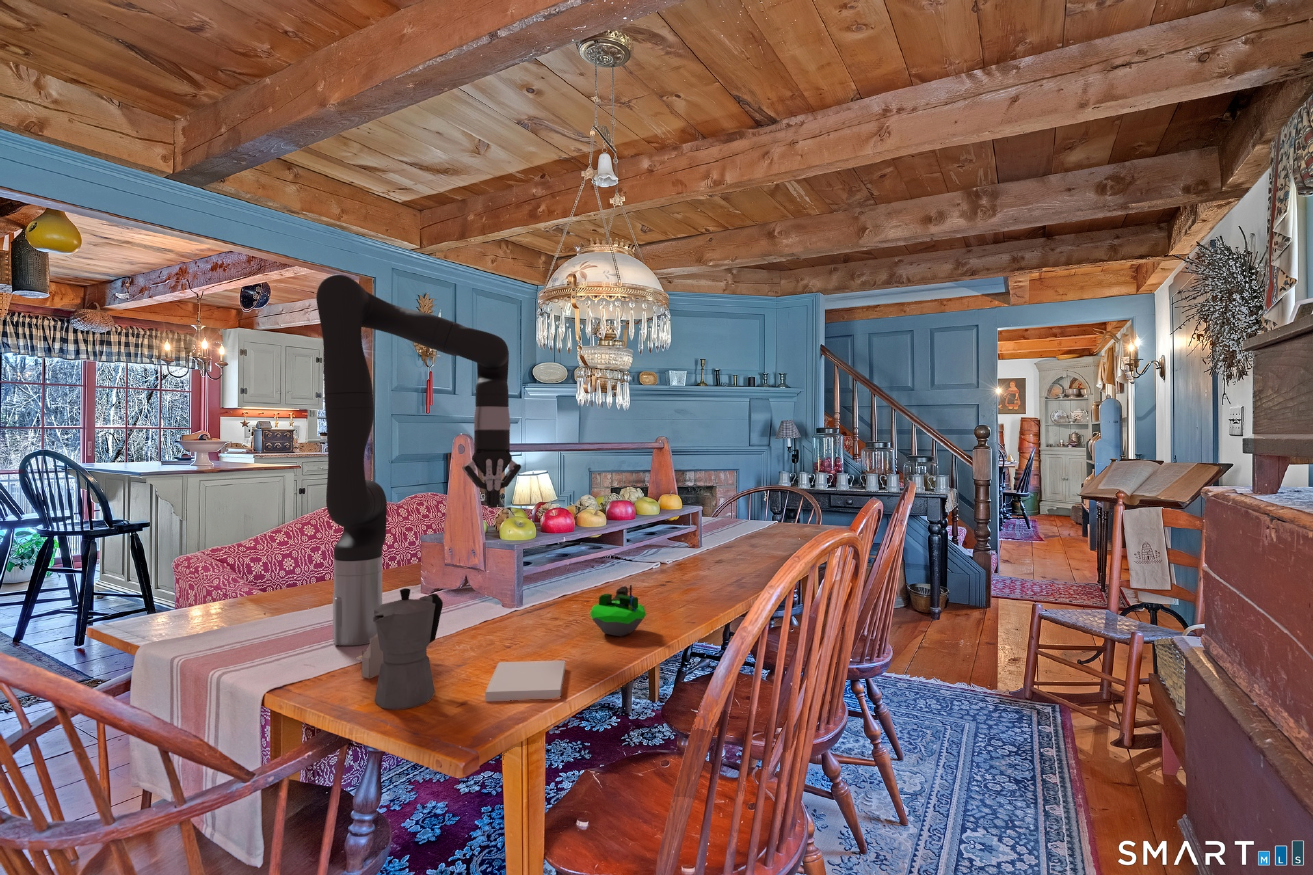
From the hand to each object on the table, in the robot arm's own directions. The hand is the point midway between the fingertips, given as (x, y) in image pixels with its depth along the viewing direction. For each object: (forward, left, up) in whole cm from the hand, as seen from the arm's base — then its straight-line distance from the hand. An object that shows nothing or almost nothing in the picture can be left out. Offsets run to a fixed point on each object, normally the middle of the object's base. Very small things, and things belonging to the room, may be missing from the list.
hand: (492, 507), depth 146 cm
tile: (0, -27, -26) cm, 38 cm away
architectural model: (-25, -15, -28) cm, 40 cm away
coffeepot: (-22, -29, -27) cm, 45 cm away
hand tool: (+31, +1, -28) cm, 41 cm away
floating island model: (+23, -15, -27) cm, 39 cm away
